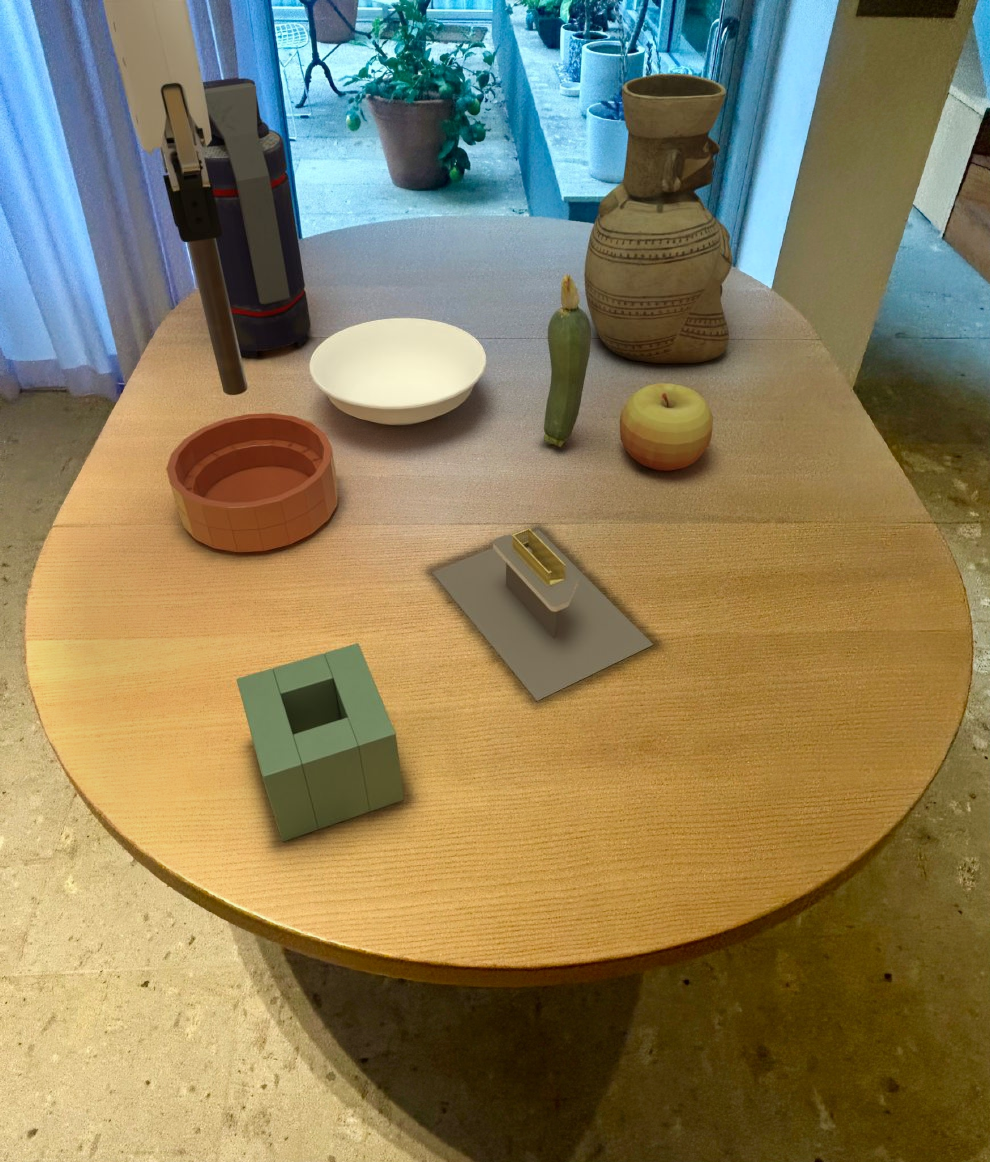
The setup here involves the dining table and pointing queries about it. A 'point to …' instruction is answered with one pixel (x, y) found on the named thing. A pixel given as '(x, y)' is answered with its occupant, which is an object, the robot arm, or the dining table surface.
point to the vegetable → (566, 364)
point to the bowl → (398, 369)
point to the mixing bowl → (254, 482)
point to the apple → (666, 426)
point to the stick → (218, 314)
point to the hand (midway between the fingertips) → (198, 229)
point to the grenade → (254, 220)
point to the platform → (540, 612)
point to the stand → (322, 740)
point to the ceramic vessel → (662, 230)
